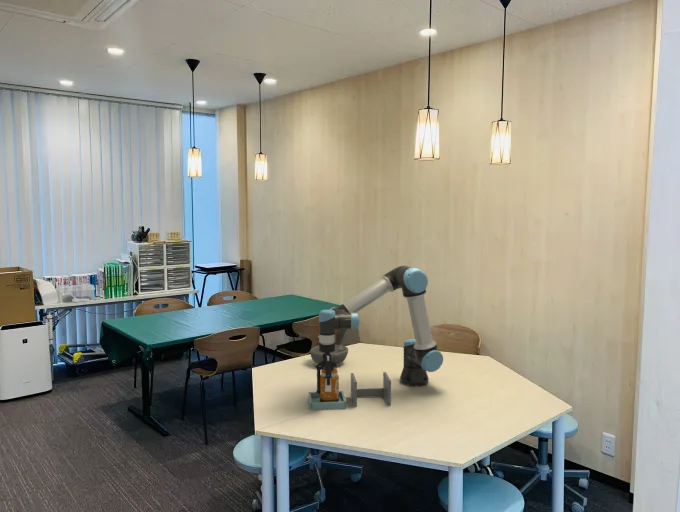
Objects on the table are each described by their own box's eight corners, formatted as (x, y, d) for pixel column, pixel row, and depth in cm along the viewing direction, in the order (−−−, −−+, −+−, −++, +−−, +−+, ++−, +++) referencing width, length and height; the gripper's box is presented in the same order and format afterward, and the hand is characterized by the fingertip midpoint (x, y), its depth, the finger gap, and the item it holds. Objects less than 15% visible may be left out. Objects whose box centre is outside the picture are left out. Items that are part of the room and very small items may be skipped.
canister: (336, 406, 248) (336, 364, 246) (313, 404, 250) (313, 362, 249) (340, 399, 257) (340, 359, 255) (318, 397, 259) (318, 357, 257)
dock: (385, 395, 264) (385, 372, 263) (390, 405, 250) (391, 380, 249) (350, 396, 262) (350, 373, 261) (354, 407, 249) (354, 382, 247)
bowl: (314, 358, 329) (314, 342, 328) (350, 359, 326) (350, 343, 325) (306, 369, 307) (306, 352, 306) (345, 371, 303) (345, 354, 303)
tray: (343, 397, 262) (343, 391, 261) (346, 408, 247) (346, 402, 246) (308, 398, 260) (308, 392, 260) (310, 409, 245) (309, 403, 245)
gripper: (317, 336, 263) (317, 378, 265) (320, 350, 238) (320, 396, 240) (332, 336, 263) (332, 377, 265) (337, 349, 239) (337, 395, 241)
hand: (327, 386), depth 253 cm, fingers open, 13 cm apart
